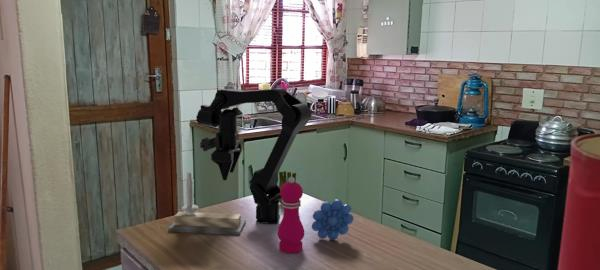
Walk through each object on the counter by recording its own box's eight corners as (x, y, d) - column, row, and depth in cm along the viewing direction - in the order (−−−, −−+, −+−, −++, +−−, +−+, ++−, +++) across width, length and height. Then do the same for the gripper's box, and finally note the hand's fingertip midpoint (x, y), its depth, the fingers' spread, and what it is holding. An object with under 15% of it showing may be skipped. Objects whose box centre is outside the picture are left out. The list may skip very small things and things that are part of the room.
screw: (186, 210, 140) (201, 212, 139) (178, 216, 136) (194, 218, 134) (185, 169, 138) (200, 170, 137) (177, 173, 133) (192, 175, 132)
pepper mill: (301, 255, 120) (302, 181, 116) (274, 253, 121) (274, 179, 117) (306, 244, 127) (307, 174, 123) (280, 241, 128) (281, 172, 124)
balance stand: (245, 223, 141) (245, 211, 141) (239, 234, 132) (239, 222, 132) (178, 220, 143) (178, 208, 142) (168, 231, 134) (168, 219, 133)
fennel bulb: (297, 204, 159) (297, 171, 156) (288, 208, 155) (288, 174, 153) (284, 201, 162) (284, 168, 160) (275, 204, 158) (275, 171, 156)
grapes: (352, 234, 134) (353, 195, 132) (353, 244, 127) (354, 203, 125) (312, 233, 135) (313, 193, 132) (310, 242, 128) (311, 201, 126)
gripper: (210, 123, 156) (211, 167, 159) (193, 133, 137) (195, 183, 140) (243, 124, 155) (243, 169, 158) (230, 134, 137) (231, 184, 140)
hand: (228, 176), depth 149 cm, fingers open, 9 cm apart
